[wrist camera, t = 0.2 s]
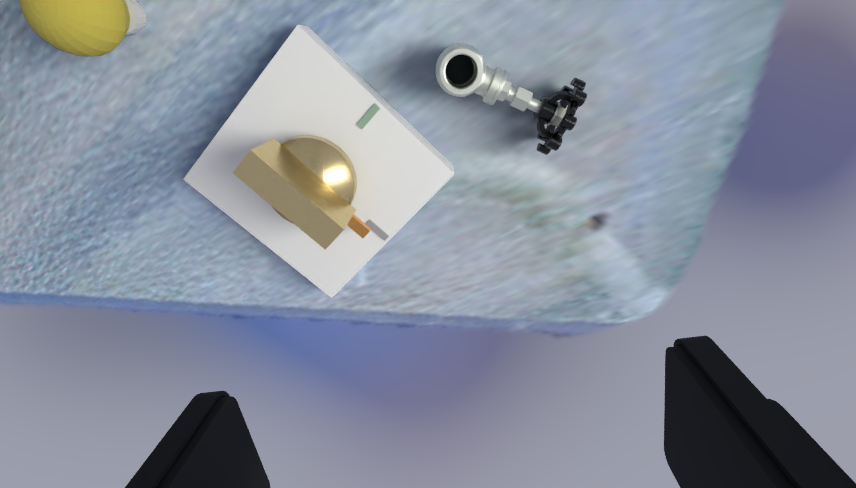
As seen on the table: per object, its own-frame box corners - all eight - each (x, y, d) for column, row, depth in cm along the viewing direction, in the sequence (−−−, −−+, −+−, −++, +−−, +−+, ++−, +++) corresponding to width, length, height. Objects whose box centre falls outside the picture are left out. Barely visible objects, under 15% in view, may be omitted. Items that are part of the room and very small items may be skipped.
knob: (251, 175, 43) (212, 198, 36) (303, 110, 40) (272, 121, 33) (344, 253, 45) (325, 289, 38) (398, 196, 43) (388, 224, 36)
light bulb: (100, 49, 42) (2, 49, 33) (90, -34, 40) (-19, -61, 30) (173, 61, 42) (95, 64, 33) (168, -22, 40) (83, -44, 31)
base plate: (199, 171, 46) (181, 179, 43) (308, 26, 41) (296, 24, 38) (338, 284, 50) (331, 299, 47) (454, 166, 45) (454, 174, 42)
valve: (423, 94, 43) (539, 147, 44) (419, 101, 37) (554, 163, 38) (454, 21, 40) (575, 80, 42) (454, 16, 34) (597, 85, 35)
